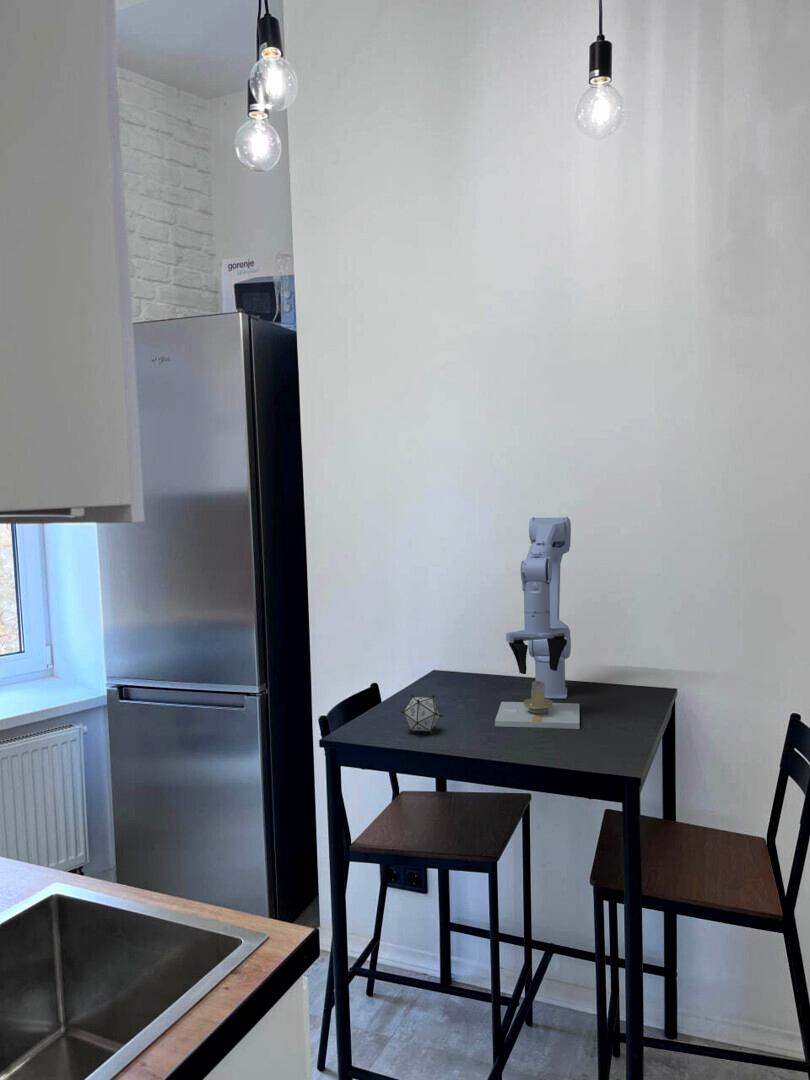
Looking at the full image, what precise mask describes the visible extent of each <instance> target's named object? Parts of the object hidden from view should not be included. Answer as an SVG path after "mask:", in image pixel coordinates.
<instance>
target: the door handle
mask: <svg viewBox="0 0 810 1080" xmlns="http://www.w3.org/2000/svg"><path fill="white" fill-rule="evenodd" d="M530 693H531V694H530V698H527V699H524V701H523V702H524V706H525V707H527V708H530V709H548V708H551V707H553V703H554V701H553V700H552V699H551V698H545V682H541V681H536V680H535V681H532V682H531V691H530Z"/></svg>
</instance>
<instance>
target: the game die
mask: <svg viewBox="0 0 810 1080" xmlns="http://www.w3.org/2000/svg"><path fill="white" fill-rule="evenodd" d="M410 696H411V699H410V701H409V703H408V704H407V705H406V707H405V709H404V710H400V711H399V713H400V714H403V716H404V718H405V721H406V723H407V724H408V727H409V730H408V734H412V732H429V733H430V735H431V736H433V735H434V732H433V731H432V730H433V728H434V727H435V726H436V723H438V721H439V719H440V718H444V715H443V714H440V712H439V709H438V707H437V704H436V703H435V700H434V698H435V697H436V694H432V696H431V697H428V696H427V697H425V696H423V697H422V696H414V694H412V693H410Z"/></svg>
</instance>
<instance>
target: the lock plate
mask: <svg viewBox="0 0 810 1080" xmlns="http://www.w3.org/2000/svg"><path fill="white" fill-rule="evenodd" d="M580 722H581V721H580V703H572V702H571V703H565V702H563V703H560V702H553V707H551V708H548V709H530V708H527V707H525V706H524V701H522V702H521V701H501V702H500V705H499V708H498V711H497V714H496V717H495V720H494V726H495V727H506V728H507V727H510V728H513V727H514V728H539V729H540V728H541V729H567V730H568V729H569V730H570V729H573V730H575V729H576V730H580V727H581V726H580Z"/></svg>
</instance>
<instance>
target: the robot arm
mask: <svg viewBox="0 0 810 1080" xmlns="http://www.w3.org/2000/svg"><path fill="white" fill-rule="evenodd" d="M571 525H572V523H571V519H570V518H569V517H568V516H565V517H562V516H561V517H535V516H534V517H533V516H532V517H531V518H530V519H529V523H528V535H529V536H528V537H529V541H530V544H531V545H530V546H529V549H528V552H527V556H526V557H525V559H524V560H523V559H522V560H521V563H520V578H521V579H520V580H521V585H522V586H521V587H522V592H523V607H524V608H523V610H524V611H523V612H524V615H523V616H524V617H523V618H524V622H523V623H524V625H523V626H524V629H522V630H516V631H512V632H506V633H505V640H506V641H505V642H507V643H508V645H509V647H510V648H511V651H512V653H513V655H514V657H515V662H516V665H517V667H518V672H519V674H522V675H526V674H527V655H528V654H529V656H530V657H531V658H533V661H534V665H535V666H534V667H535V669H534V673H535V674H534V675H535V682H536V681H541V682H545V698H546V699H561V700H563V699H567V698H568V687H566V660H567V659H569V657H570V656H571V650H572V649H571V646H572V645H571V644H572V643H571V642H572V641H571V629H570V627H569V626H568V625H567V624H566V623H565V622H563V621H562V620H560V597H561V596H560V595H561V563H562V559H563V556H564V554H567V553H569V552H570V548H571V539H572V538H571V535H572V526H571ZM527 641H528V642H527ZM525 642H527V644H526V643H525Z"/></svg>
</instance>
